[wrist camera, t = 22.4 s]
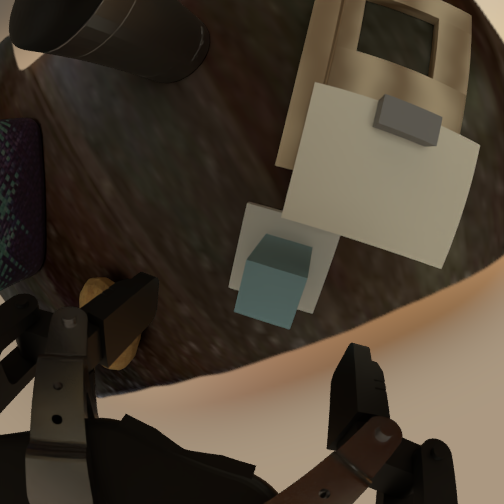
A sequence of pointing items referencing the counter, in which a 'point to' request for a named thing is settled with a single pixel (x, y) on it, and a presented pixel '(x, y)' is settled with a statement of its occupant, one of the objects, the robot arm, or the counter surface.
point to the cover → (381, 174)
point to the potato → (91, 291)
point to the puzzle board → (379, 64)
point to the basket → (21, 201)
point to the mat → (270, 222)
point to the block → (274, 280)
